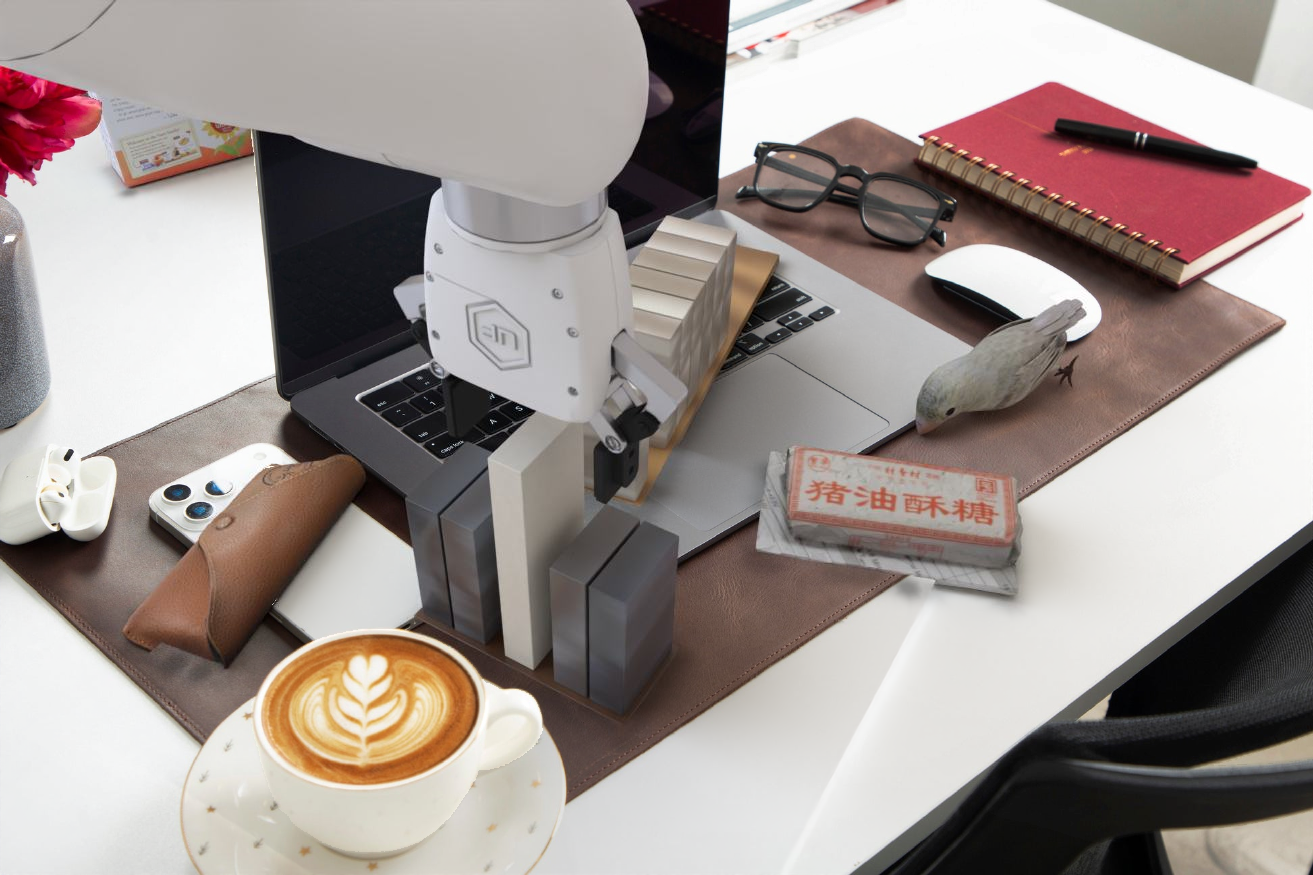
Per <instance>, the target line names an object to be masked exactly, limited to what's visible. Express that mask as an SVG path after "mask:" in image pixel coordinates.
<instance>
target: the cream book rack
mask: <svg viewBox="0 0 1313 875" xmlns="http://www.w3.org/2000/svg"><path fill="white" fill-rule="evenodd" d="M737 240H738V230H733V229H730V228H726V227H725V228H724V227H721V226H716V225H711V224H706V223H703V222H699V221H694V220H689V219H685V218H680V217H675V216H672V215H666V216H665V217H664V219H663V220H662V222H661V223H660V224H659V226H658V227H657V228H656V230H655V231H654V232H653V234H652V235H651V236H650V238H649V239H648V241H647V242H646V243H645V244H644V247H642V249H640V251H639V253H638V254H637V255H636V256H635V258H634V259H633V260H632V262H631V264H629V271H630V278H631V288H632V298H633V311H634V331H635V341H636V342H637V343H638V344H639V345H640V346H641V347H643V348H644V349H645V350H646V351H647V352H648V353H649V354H651V355H652V356H653V357H654V358H655V359H656V360H658V361H659V362H660V363H661V364H662V365H663V366H664V367H666V368H667V369H668V370H669V371H670V372H671V373H672V374H674V375H675V376H676V377H677V378H678V379H679V380H681V381H682V382H683V383H684V384H685V385H686V386H687V388H688V395H687V397H686V398H685V399H684V400H683V401H682V402H681V404H680V405H679V406H678V407H677V408H676V409H675V411H674V412H673V413H672V414H671V415H670V416H669V418H668V419H667V420H666V421H665V422H664V423H663V424H662V426H661V427H660V428H659V429H658V430H657V431H656V432H655V434H654V435H652V436H650V437H648V438H645V439H643V440H641V441H639V469H638V473H637V475H636V477H635V479H634V480H633V482H632V483H631V484H630V485H629V486H628V487H627V488H623V487H621V488H620V489H619V490H618V492H617V493H616V494H615V495H614V496H613V497H612V498H611V500H616V501H620V502H621V503H622V502H623V503H626V504H629V505H633V506H636V507H639V508H641V507H642V506H643V504H644V502H645V500H646V498H647V496H648V495H649V492H650V491H651V489H652V487H653V486H654V483H656V480H657V479H658V477H659V475H660V473H661V471H662V470H663V467H664V465H665V464H666V462H667V460H668V458H669V456H670V455H671V453H672V451H673V449H674V447H675V446H680V444H681V442H682V441H683V439H684V437H685V435H686V433H687V431H688V430H689V428H690V426H691V424H692V422H693V421H694V419H695V417H696V415H697V413H698V411H699V410H700V408H701V406H702V404H703V403H704V400H705V399H706V397H707V395H708V393H709V392H710V389H711V387H712V386H713V384H714V382H715V381H716V379H717V377H718V375H719V373H720V371H721V370H722V367H723V366H724V364H725V362H726V361H727V358H728V357H729V355H730V353H731V351H732V349H733V347H734V346H735V343H736V342H737V340H738V338H739V336H740V334H741V333H742V331H743V329H744V327H745V325H746V324H747V322H748V321H749V318H750V316H751V315H752V313H753V311H754V309H755V307H756V306H757V303H758V302H759V301H760V298H761V296H762V294H763V292H764V291H765V289H766V287H767V285H768V283H769V282H770V279H771V278H772V276H773V274H774V273H775V271H776V269H777V267H778V265H779V263H780V254H779V253H775V252H770V251H766V250H761V249H757V248H753V247H749V246H744V245H740V244H737ZM627 381H628V380H627ZM628 382H629V381H628ZM629 384H630V385H631V387H632V388H633V390H634V391H635V393H636V394H637V396H638V397H639V398H640V400H641V401H642V403H643V404H644V403H646V402H647V399H646V397H645V396H644V395H643V393H641V392H640V391H639V390H638V389H637V388H636V387H634V386H633V385H632V384H631V383H630V382H629ZM604 405H605V406H606V408H607V409H608V410H609V412H610V413H611V415H612V416H613V418H614V419H616V418H617V417H618V416H619V415H620V414H622V413H621V411H620V410H619V408H618V407H617V405H616V404H615V402H614V401H613V399H612V398H611V397H610V398H609V399H608V400H607V401H606V402H605V403H604ZM583 437H584V492H588V493H591V494H594V463H593V451H594V448H595V446H596V445H597V443H598V442H599V441H600V440H601V439H600V438H599V437H598V435H597V434H596V432H595V431H594V429H593V428H592V427H591V425H590V424H589V422H586V423H583Z"/></svg>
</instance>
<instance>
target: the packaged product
mask: <svg viewBox="0 0 1313 875" xmlns="http://www.w3.org/2000/svg"><path fill="white" fill-rule="evenodd" d="M764 480H765V481H764V489H763V493H762V499H761V503H760V511H759V520H758V525H757V534H756V541H755V552H757V553H763V554H768V555H774V556H779V557H785V558H789V559H790V558H791V559H796V560H803V561H810V562H816V563H822V564H832V565H837V566H844V567H851V568H858V569H866V570H872V571H879V572H883V573H887V574H896V575H903V576H904V575H905V576H913V577H915V578H916V577H917V578H925V579H932V580H935V581H934V582H933V585H941V586H951V587H958V588H966V589H967V588H968V589H972V590H978V591H979V590H980V591H984V592H990V593H995V594H996V593H997V594H1001V595H1007V596H1014V595H1016V594H1017V593H1018V584H1017V582H1018V581H1017V580H1018V579H1017V567H1016V566H1017V564H1016V563H1017V561H1018V559H1019V557H1020V556H1021V554H1022V542H1021V539H1022V534H1023V531H1024V527H1023V523H1022V517H1021V514H1020V513H1019V506H1018V503H1019V496H1020V495H1019V492H1018V488H1019V480H1018V478H1017V477H1015V476H1011V475H1010V476H1007V475H1003V474H997V473H989V472H987V471H986V472H985V471H979V470H977V471H976V470H972V469H964V468H957V467H950V466H942V465H936V464H930V463H923V462H918V461H910V460H909V461H908V460H901V459H898V458H886V457H881V456H873V455H862V454H859V453H850V452H843V451H838V450H829V449H828V450H826V449H823V448H818V447H809V446H805V445H801V446H800V445H793V446H789V447H787V451H786V453H785V452H780V451H776V450H775V451H774V450H772V451H770V452H769V457H768V460H767V465H766V470H765V479H764Z"/></svg>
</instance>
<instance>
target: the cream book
mask: <svg viewBox="0 0 1313 875" xmlns="http://www.w3.org/2000/svg"><path fill="white" fill-rule="evenodd" d="M488 468H489V479H490V491H491V502H492V513H493V524H494V535H495V547H496V558H497V569H498V580H499V591H500V603H501V614H502V625H503V636H504V647H505V655H506V656H507V657H509V658H511V659H513V660H515V661H517V662H519V663H520V664H522V665H524V666H526V667H528V668H530V669H532V670H534V669H535V668H536V667H537V666H538V664H539V663H540V662H541V661H542V659H543V658H544V657H545V656H546V655H547V653H548V652H549V651H550V650H551V648H552V647H553V639H552V616H551V593H550V570H549V569H550V567H551V566H552V564H553V563H554V562H555V561H556V560H557V559H558V558H559V557H560V555H561V554H562V553H563V552H564V551H565V550H566V549H567V547H568V546H569V545H570V544H571V543H572V542H573V541H574V540H575V538H576V537H577V536H578V535H579V534H580V533H581V532H582V530H583V529H584V528H585V527H586V524H585V523H586V522H585V517H586V516H585V491H584V437H583V423H571V422H566V421H562V420H559V419H556V418H554V417H551V416H548V415H546V414H543V413H541V412H538V411H536V410H535V412H534V413H533V414H532V415H531V416H529V417H528V419H526V420H525V422H523V423H522V424H521V425H520V426H519V427H518V428H517V429H516V430H515V431H514V432H512V434H511V435H510V436H509V437H508V438H506V440H505V441H504V442H503V443H501V444H500V446H499V447H498V448H497V449H495V451H493V452H492V454H491V455H490V456H489V457H488Z"/></svg>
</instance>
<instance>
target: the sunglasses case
mask: <svg viewBox="0 0 1313 875" xmlns="http://www.w3.org/2000/svg"><path fill="white" fill-rule="evenodd" d="M268 466H274V467H270V468H266V467H268ZM268 466H266V467H264V468H265V469H264V468H262V469H263V470H262V469H261V470H262V471H261V470H260V471H261V472H260V471H259V472H258V473H257V474H256V475H254V476H253V478H252V479H251V480H250V481H249V482H248V483H247V484H246V485H245V486H244V487H243V488H242V489H241V491H240V492H239V493H237V495H236V496H235V497H234V498H233V499H232V500H231V502H229V504H228V505H227V507H225V509H223V510H222V511H221V512H219V513H218V515H217V516H215V517H214V518H213V519H212V520H211V522H209V523H208V525H207V526H206V527H205V528H203V530H202V531H201V533H200V535H199V536H198V539H197V540H196V542H194V544H193V545H192V546H191V547H190V548H189V549H188V550H187V552H186V553H185V554H184V555H183V556H182V557H181V558H180V559H179V560H178V562H177V563H176V564H175V565H174V566H173V567H172V568H171V570H170V571H168V573H167V574H166V575H165V576H164V578H163V579H161V581H160V582H159V583H158V584H157V585H156V587H155V588H153V590H152V591H151V592H150V593H149V594H148V596H147V597H145V599H144V600H143V601H142V603H141V604H140V605H139V606H138V607H137V609H136V610H135V611H134V612H133V613H132V614H131V616H130V617H129V618H128V620H127V622H126V623H125V625H124V627H123V628H122V630H121V633H122V634H123V636H124V638H125V639H126V640H127V641H128V642H129V643H131V644H133V645H135V646H137V647H140V648H141V649H144V650H146V651H148V652H152V651H154V650H155V649H156V648H157V647H158V646H159V645H160V644H161V643H162V644H164V645H167V646H170V647H173V648H175V649H178V650H180V651H183V652H186V653H189V654H191V655H195V656H197V657H201V658H202V659H203V660H204V659H206V660H208V661H210V662H215V663H219V664H221V665H222V666H223V670H226V669H228V667H229V666H230V665H231V663H232V662H233V661H234V660H235V659H236V658H237V657H238V655H239V654H240V653H241V651H242V650H243V649H244V648H245V646H246V644H248V642H249V641H250V639H251V638H252V636H253V635H254V634H255V632H256V630H257V629H258V628H259V626H260V625H261V624H262V622H263V620H264V619H265V618H266V616H267V615H268V613H269V611H271V609H272V608H271V606H272V604H273V603H274V602H275V600H276V599H277V598H278V597H279V598H280V597H281V595H282V593H283V592H284V590H285V589H286V588H287V586H288V585H289V584H290V583H291V582H292V580H293V579H294V577H295V576H296V575H297V573H298V572H299V571H300V570H301V568H302V567H303V566H304V564H305V563H306V562H307V560H308V558H310V556H311V555H312V553H313V552H314V550H315V549H316V548H317V546H318V545H319V544H320V542H321V541H322V540H323V539H324V537H326V535H327V534H328V532H329V531H330V529H331V528H332V527H333V525H335V523H336V522H337V520H338V519H339V518H340V517H341V515H342V514H343V513H344V512H345V510H346V509H347V508H348V506H349V505H350V504H351V503H352V501H353V500H354V499H355V498H356V496H357V495H358V494H359V492H360V491H361V489H362V488H363V487H364V485H365V484H366V482H367V476H366V471H365V469H364V466H363V465H362V464H361V463H360V461H359V460H357V459H356V458H355V457H353V456H352V455H350V454H346V453H338V454H333V455H332V456H330V457H327V458H325V459H322V460H312V461H306V462H305V461H303V462H296V463H287V464H278V463H271V464H269V465H268ZM280 594H281V595H280ZM279 598H278V599H279ZM278 599H277V600H278ZM275 603H276V602H275Z"/></svg>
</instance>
